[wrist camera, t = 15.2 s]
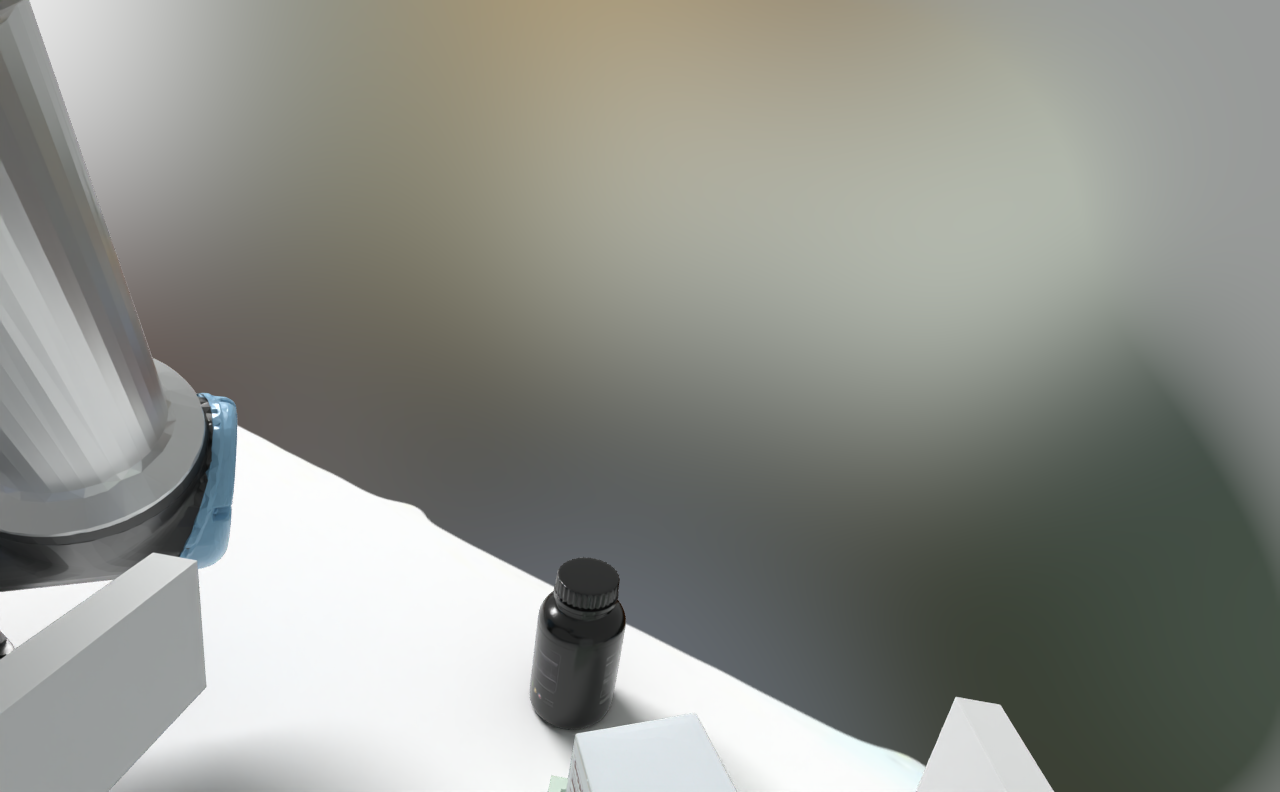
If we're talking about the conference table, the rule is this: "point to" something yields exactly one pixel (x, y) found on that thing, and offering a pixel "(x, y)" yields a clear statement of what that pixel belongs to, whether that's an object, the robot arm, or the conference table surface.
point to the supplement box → (648, 759)
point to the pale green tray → (557, 784)
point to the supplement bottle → (578, 645)
